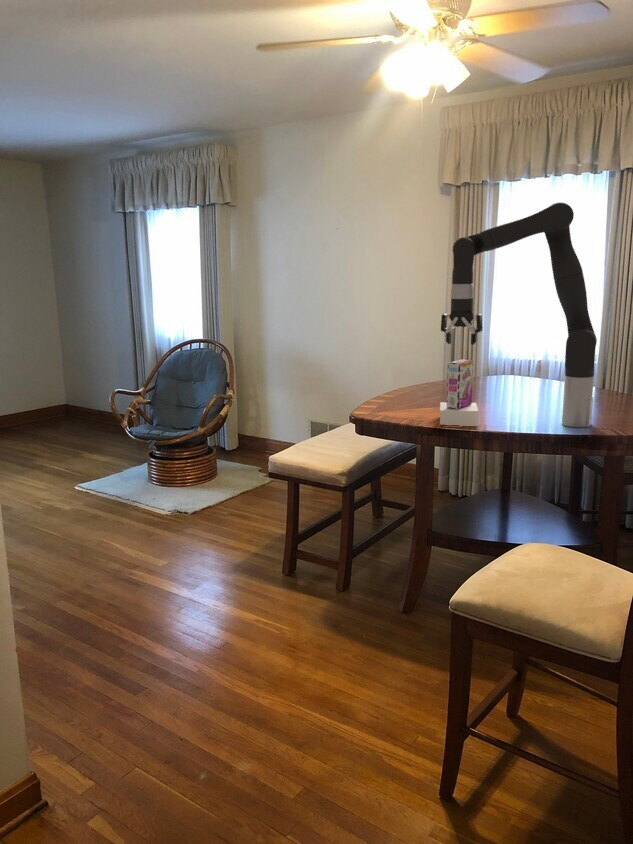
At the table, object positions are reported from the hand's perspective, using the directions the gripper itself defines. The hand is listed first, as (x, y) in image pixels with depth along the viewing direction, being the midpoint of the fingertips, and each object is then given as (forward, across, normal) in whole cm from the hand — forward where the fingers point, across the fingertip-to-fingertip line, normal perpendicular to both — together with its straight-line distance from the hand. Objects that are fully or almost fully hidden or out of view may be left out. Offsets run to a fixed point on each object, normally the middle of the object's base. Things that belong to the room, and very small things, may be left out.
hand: (460, 344), depth 231 cm
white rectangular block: (+28, 0, 0) cm, 28 cm away
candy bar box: (+23, 0, 0) cm, 23 cm away
